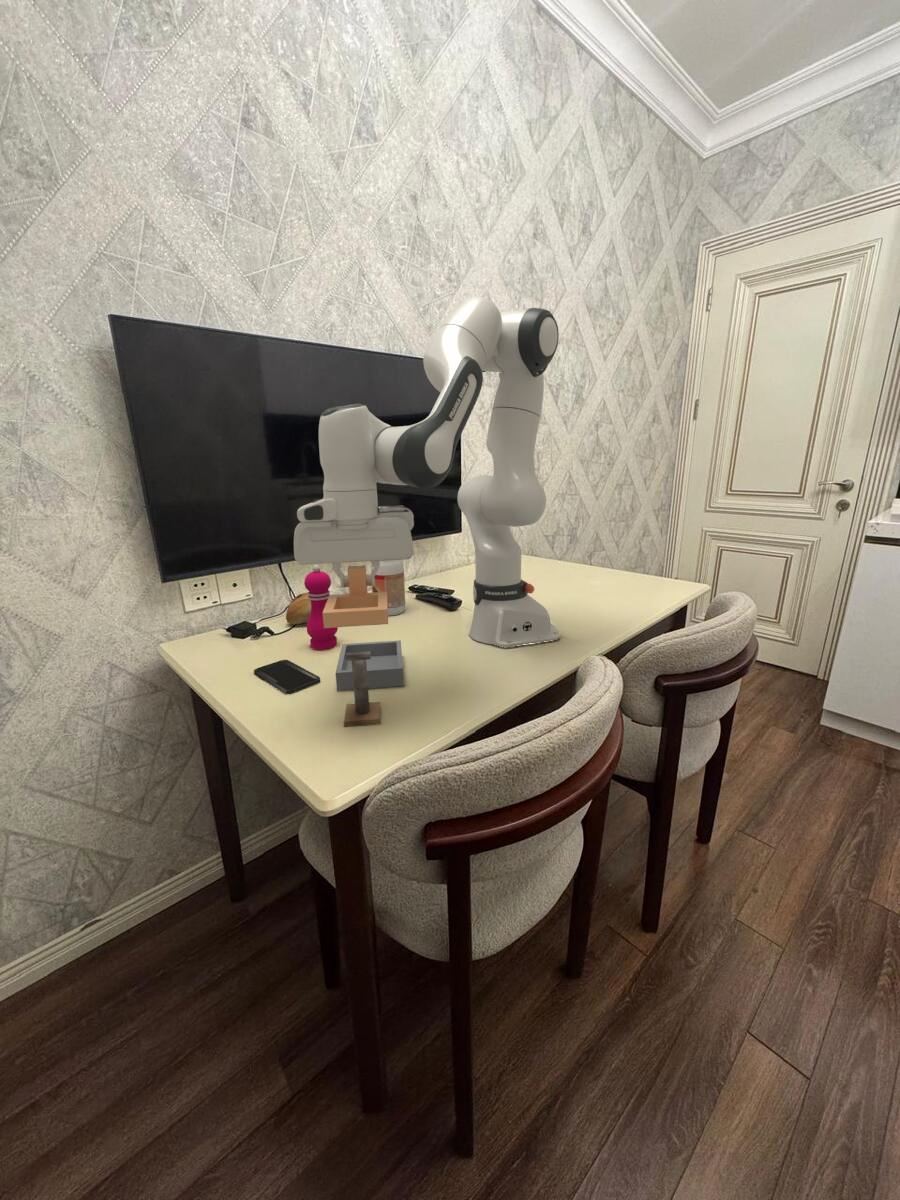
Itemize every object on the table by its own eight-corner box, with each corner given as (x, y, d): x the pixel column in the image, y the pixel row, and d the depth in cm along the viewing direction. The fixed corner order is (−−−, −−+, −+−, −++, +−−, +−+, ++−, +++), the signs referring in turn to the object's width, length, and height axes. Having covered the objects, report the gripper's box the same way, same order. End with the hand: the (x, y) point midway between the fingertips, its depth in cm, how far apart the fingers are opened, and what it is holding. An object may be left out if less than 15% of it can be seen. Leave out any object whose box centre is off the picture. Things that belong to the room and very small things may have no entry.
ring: (387, 601, 87) (385, 564, 85) (388, 624, 76) (385, 581, 74) (332, 604, 86) (328, 567, 84) (324, 628, 75) (319, 585, 73)
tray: (401, 655, 109) (400, 640, 108) (403, 685, 95) (402, 668, 94) (343, 659, 107) (342, 644, 106) (337, 690, 93) (335, 672, 92)
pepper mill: (331, 652, 112) (323, 568, 106) (303, 650, 113) (293, 568, 107) (344, 640, 118) (337, 562, 113) (317, 639, 120) (309, 561, 114)
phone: (285, 658, 107) (322, 678, 97) (286, 663, 107) (322, 683, 97) (251, 670, 101) (286, 692, 91) (251, 675, 101) (287, 697, 92)
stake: (380, 706, 87) (376, 645, 83) (380, 723, 81) (375, 659, 78) (347, 708, 86) (341, 647, 83) (344, 726, 81) (338, 661, 77)
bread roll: (281, 621, 133) (278, 594, 131) (332, 611, 142) (329, 585, 139) (292, 631, 126) (289, 602, 124) (345, 619, 134) (343, 592, 132)
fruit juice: (403, 616, 136) (398, 517, 128) (370, 616, 136) (363, 518, 128) (407, 606, 145) (403, 513, 137) (376, 606, 145) (370, 513, 137)
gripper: (412, 503, 85) (415, 578, 89) (293, 507, 82) (302, 584, 86) (414, 506, 79) (417, 587, 83) (286, 511, 76) (296, 594, 80)
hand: (358, 585), depth 85 cm, fingers closed on ring, 3 cm apart
